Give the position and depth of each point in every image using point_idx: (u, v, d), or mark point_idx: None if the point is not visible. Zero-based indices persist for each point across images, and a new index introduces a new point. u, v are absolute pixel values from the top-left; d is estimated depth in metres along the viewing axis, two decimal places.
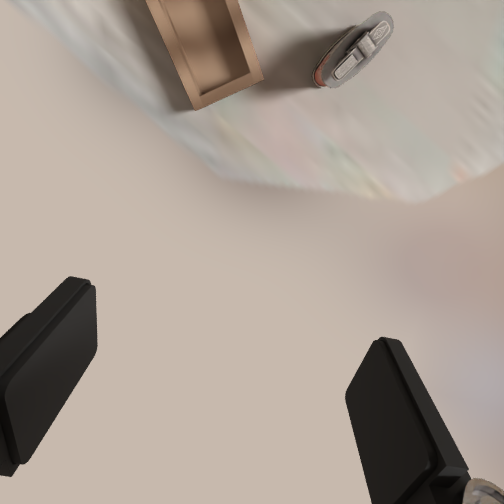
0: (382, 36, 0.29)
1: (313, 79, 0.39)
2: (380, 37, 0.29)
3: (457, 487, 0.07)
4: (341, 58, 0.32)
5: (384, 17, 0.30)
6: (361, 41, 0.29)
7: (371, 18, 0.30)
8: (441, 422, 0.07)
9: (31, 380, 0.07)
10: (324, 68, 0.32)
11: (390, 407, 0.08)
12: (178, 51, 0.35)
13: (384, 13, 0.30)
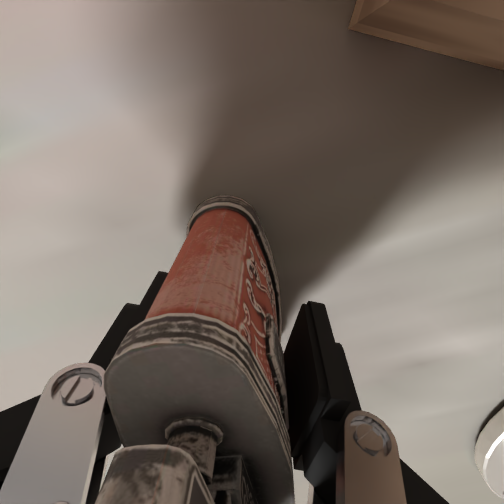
0: None
1: (231, 202, 0.11)
2: None
3: None
4: (227, 437, 0.06)
5: None
6: None
7: None
8: (339, 366, 0.08)
9: None
10: (234, 372, 0.05)
11: (304, 359, 0.09)
12: None
13: None
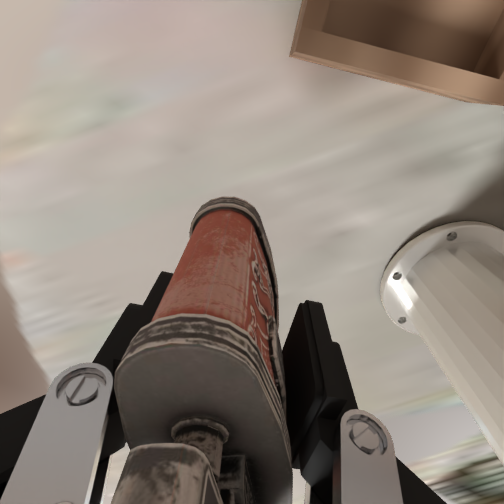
0: None
1: (235, 203, 0.11)
2: None
3: None
4: (232, 437, 0.06)
5: None
6: None
7: None
8: (336, 365, 0.08)
9: None
10: (246, 374, 0.05)
11: (301, 358, 0.09)
12: None
13: None
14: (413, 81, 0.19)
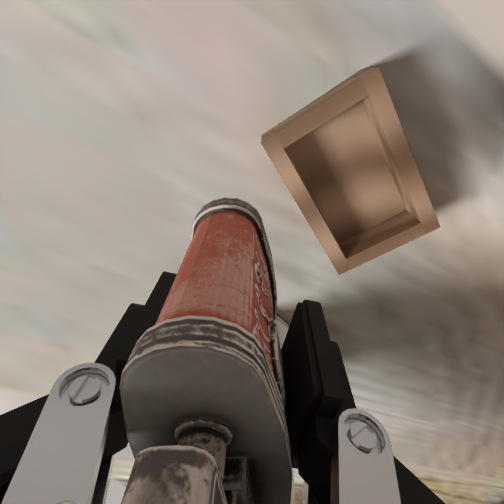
0: None
1: (238, 205, 0.11)
2: None
3: None
4: (235, 439, 0.06)
5: None
6: None
7: None
8: (334, 365, 0.08)
9: None
10: (253, 377, 0.05)
11: (299, 357, 0.09)
12: (396, 157, 0.23)
13: None
14: (308, 221, 0.26)
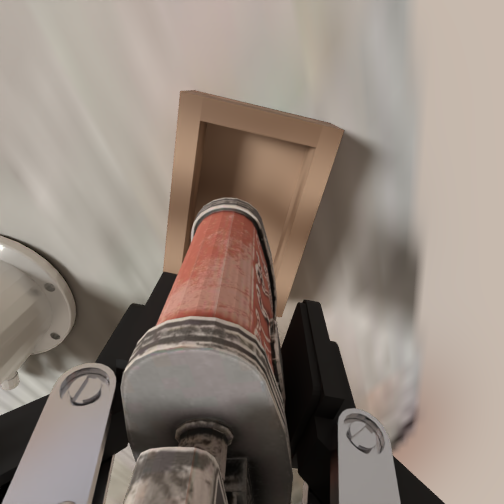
0: None
1: (238, 205, 0.11)
2: None
3: None
4: (235, 440, 0.06)
5: None
6: None
7: None
8: (333, 364, 0.08)
9: None
10: (254, 378, 0.05)
11: (299, 357, 0.09)
12: (294, 227, 0.20)
13: None
14: (168, 218, 0.20)
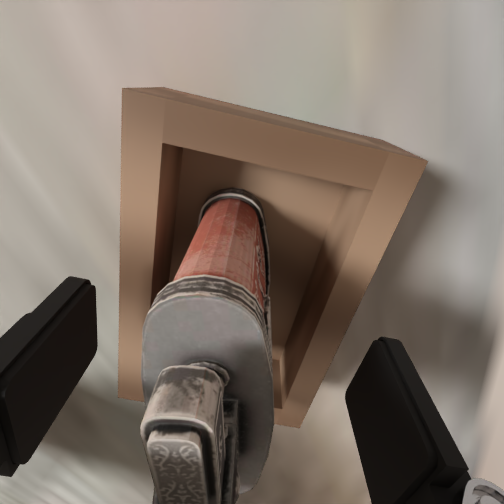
0: None
1: (244, 195, 0.12)
2: None
3: (457, 487, 0.07)
4: (231, 383, 0.07)
5: None
6: None
7: (254, 474, 0.09)
8: (441, 422, 0.07)
9: (31, 380, 0.07)
10: (253, 327, 0.07)
11: (390, 407, 0.08)
12: (326, 312, 0.12)
13: None
14: (121, 297, 0.12)
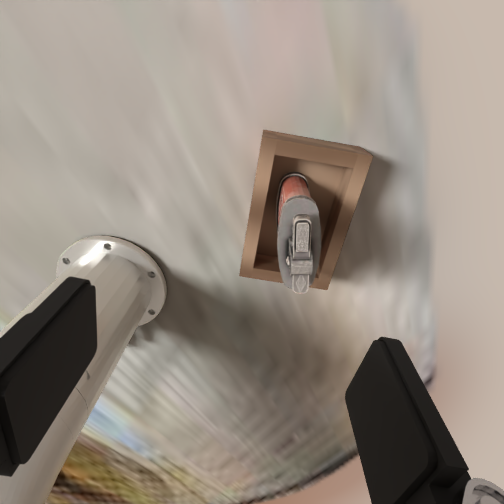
0: (294, 283, 0.23)
1: (299, 174, 0.28)
2: (295, 281, 0.23)
3: (457, 487, 0.07)
4: None
5: None
6: (311, 266, 0.22)
7: (313, 275, 0.25)
8: (441, 422, 0.07)
9: (31, 380, 0.07)
10: (315, 208, 0.22)
11: (390, 407, 0.08)
12: (337, 223, 0.28)
13: None
14: (248, 220, 0.28)
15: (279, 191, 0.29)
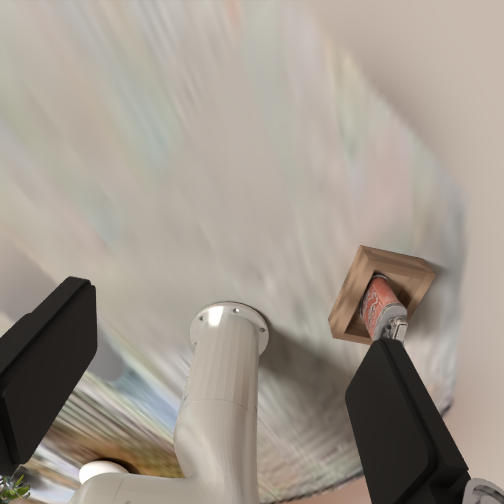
0: None
1: (382, 275, 0.42)
2: None
3: (457, 487, 0.07)
4: None
5: None
6: None
7: None
8: (441, 422, 0.07)
9: (31, 380, 0.07)
10: (405, 311, 0.37)
11: (390, 407, 0.08)
12: (406, 309, 0.42)
13: None
14: (348, 305, 0.42)
15: (367, 285, 0.43)
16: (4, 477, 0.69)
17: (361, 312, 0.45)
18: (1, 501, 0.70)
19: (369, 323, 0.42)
